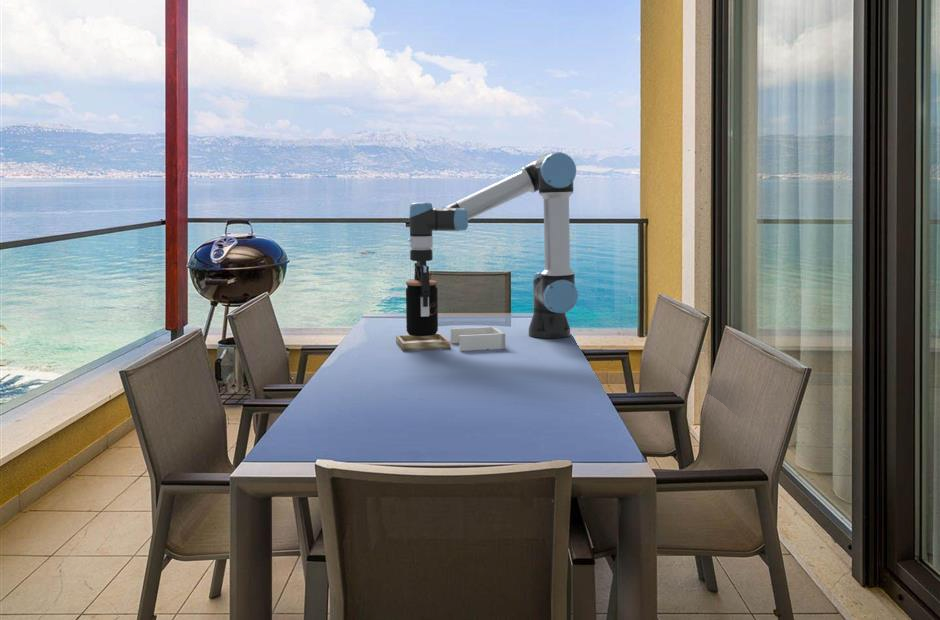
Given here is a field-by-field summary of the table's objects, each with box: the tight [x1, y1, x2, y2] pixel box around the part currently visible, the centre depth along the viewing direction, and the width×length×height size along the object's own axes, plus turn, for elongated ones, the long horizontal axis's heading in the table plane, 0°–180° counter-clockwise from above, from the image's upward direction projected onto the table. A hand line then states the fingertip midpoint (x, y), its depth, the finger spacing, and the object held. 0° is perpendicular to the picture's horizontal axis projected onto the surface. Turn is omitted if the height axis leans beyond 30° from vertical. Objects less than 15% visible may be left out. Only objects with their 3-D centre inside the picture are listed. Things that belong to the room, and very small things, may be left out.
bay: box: [450, 326, 506, 352], centre depth 289 cm, size 15×15×5 cm
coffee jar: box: [405, 279, 439, 336], centre depth 288 cm, size 11×11×18 cm
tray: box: [395, 332, 451, 352], centre depth 290 cm, size 16×16×2 cm
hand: (422, 313), depth 289 cm, fingers closed on coffee jar, 11 cm apart
